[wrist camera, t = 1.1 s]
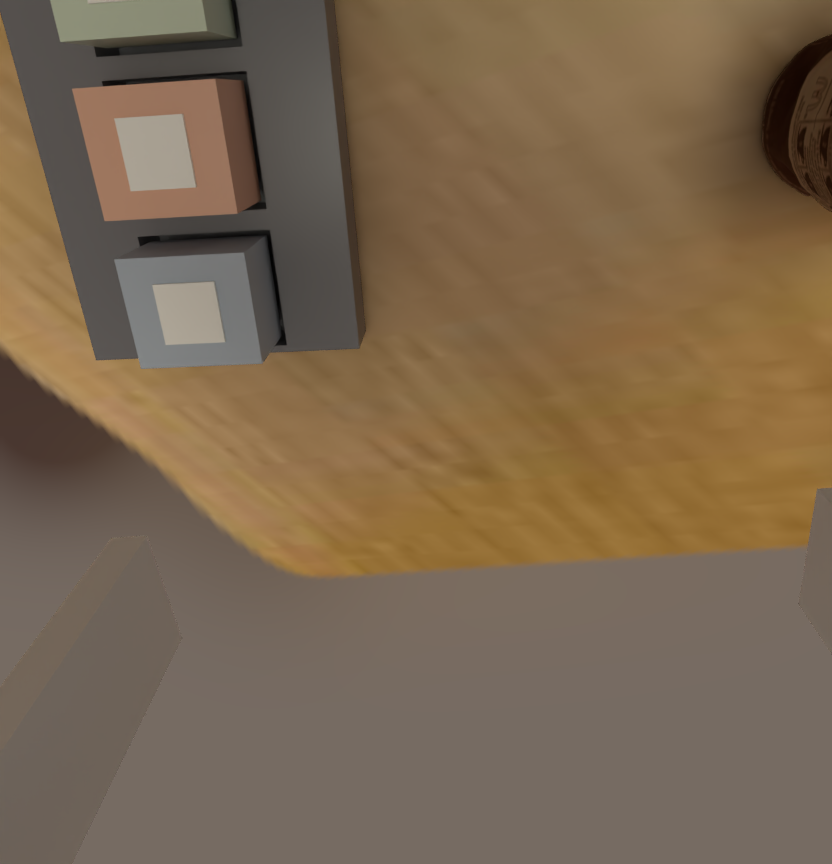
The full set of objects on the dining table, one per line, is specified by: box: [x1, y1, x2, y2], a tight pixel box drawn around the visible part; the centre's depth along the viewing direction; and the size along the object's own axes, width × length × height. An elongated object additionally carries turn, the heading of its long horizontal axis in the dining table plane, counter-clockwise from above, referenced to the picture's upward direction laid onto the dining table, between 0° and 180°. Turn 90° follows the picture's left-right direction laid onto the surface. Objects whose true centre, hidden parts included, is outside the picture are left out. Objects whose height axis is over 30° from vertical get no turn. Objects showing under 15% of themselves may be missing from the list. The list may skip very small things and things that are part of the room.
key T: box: [72, 79, 261, 221], centre depth 26 cm, size 4×5×4 cm
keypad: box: [0, 0, 366, 360], centre depth 27 cm, size 23×12×3 cm, turn 3°
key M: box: [114, 235, 282, 369], centre depth 29 cm, size 4×5×4 cm
